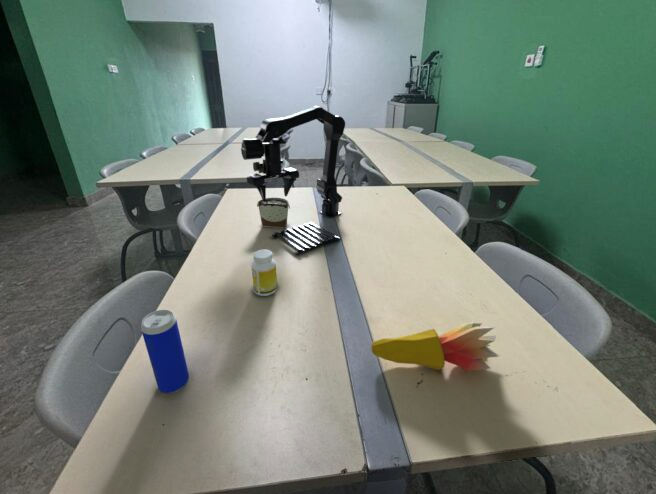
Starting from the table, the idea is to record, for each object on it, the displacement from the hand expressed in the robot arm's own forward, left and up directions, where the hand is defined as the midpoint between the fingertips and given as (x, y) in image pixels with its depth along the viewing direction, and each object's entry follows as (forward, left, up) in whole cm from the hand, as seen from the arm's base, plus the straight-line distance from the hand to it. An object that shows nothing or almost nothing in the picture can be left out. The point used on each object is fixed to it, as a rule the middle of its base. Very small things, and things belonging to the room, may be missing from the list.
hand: (275, 198), depth 118 cm
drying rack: (-2, +17, -11) cm, 20 cm away
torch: (+9, +76, -11) cm, 78 cm away
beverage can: (+51, +50, -11) cm, 72 cm away
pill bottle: (+24, +35, -11) cm, 44 cm away
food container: (0, 0, -11) cm, 11 cm away
